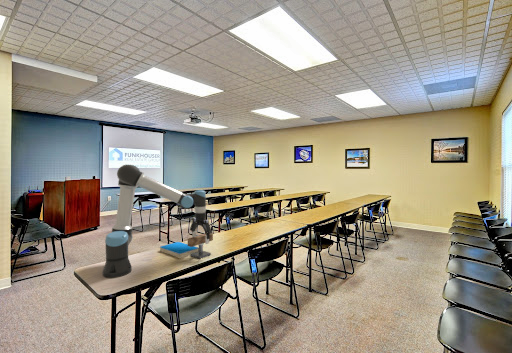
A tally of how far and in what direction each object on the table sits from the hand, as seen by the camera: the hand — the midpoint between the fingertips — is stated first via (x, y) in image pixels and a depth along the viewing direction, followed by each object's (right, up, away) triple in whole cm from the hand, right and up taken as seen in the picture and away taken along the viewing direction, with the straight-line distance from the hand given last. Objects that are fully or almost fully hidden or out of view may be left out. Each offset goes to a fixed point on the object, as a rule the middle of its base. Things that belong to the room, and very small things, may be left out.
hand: (200, 242), depth 178 cm
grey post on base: (0, -10, 0) cm, 10 cm away
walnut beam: (0, -1, 0) cm, 1 cm away
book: (-18, -10, +9) cm, 23 cm away
